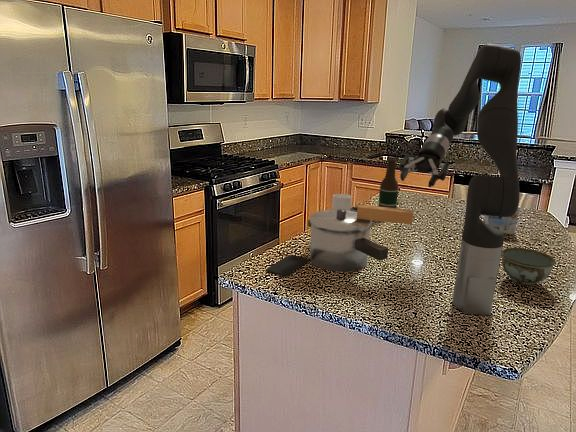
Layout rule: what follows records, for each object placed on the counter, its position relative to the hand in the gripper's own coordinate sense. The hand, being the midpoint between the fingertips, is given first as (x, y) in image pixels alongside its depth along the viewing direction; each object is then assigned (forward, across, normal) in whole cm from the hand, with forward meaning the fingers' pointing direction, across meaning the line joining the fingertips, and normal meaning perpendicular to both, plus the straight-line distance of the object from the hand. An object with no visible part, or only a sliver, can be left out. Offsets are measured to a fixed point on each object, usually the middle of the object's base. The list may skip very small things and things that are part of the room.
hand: (415, 181), depth 130 cm
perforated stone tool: (-3, -27, +35) cm, 44 cm away
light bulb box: (-32, +22, +46) cm, 61 cm away
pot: (+27, -12, +15) cm, 33 cm away
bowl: (+9, +35, +21) cm, 42 cm away
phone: (+38, -25, +10) cm, 47 cm away
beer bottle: (-26, -22, +48) cm, 59 cm away
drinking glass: (+8, -25, +28) cm, 38 cm away
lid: (+18, -11, +6) cm, 22 cm away
